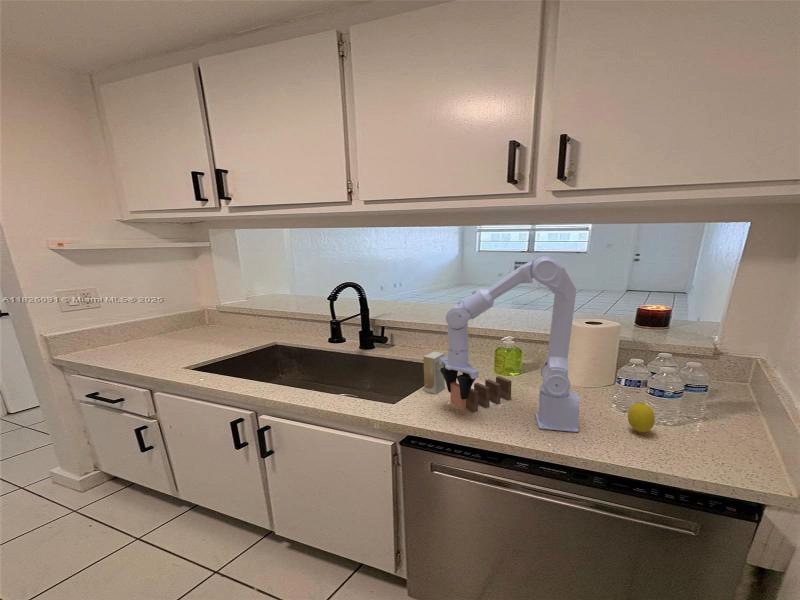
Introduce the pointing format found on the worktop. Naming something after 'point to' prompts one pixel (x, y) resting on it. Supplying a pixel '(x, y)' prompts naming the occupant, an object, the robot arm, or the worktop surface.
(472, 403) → the domino
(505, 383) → the domino
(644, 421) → the lemon
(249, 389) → the worktop surface
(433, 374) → the skincare box
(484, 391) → the domino
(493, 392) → the domino
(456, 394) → the domino
